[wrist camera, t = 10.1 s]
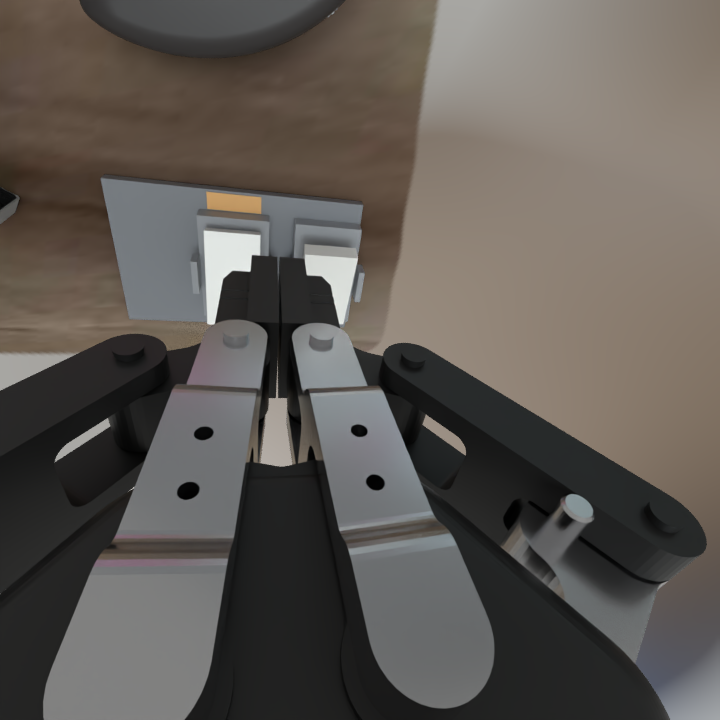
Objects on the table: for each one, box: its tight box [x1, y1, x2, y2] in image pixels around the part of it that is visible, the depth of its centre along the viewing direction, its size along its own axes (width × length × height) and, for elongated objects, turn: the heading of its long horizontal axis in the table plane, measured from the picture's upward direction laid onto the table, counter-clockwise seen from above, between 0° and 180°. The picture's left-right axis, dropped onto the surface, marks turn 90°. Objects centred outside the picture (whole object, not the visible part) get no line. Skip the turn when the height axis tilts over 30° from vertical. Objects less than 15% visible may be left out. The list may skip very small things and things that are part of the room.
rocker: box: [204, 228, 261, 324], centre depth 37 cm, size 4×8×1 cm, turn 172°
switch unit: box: [101, 174, 365, 327], centre depth 38 cm, size 21×13×4 cm, turn 81°
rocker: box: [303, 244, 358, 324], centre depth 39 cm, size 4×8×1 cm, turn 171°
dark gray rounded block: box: [80, 0, 345, 58], centre depth 25 cm, size 16×5×9 cm, turn 102°
